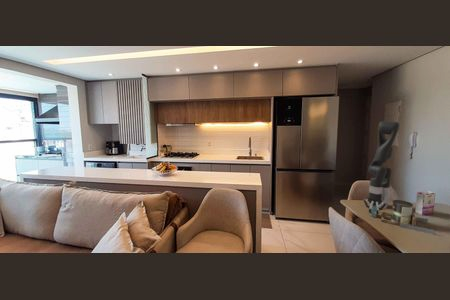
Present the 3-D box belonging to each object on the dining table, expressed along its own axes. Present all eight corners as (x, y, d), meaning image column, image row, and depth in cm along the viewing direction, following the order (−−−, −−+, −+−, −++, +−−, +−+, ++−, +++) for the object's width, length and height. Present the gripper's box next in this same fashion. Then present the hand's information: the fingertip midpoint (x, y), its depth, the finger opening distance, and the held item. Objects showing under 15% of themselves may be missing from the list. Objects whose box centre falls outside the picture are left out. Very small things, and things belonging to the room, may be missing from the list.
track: (399, 226, 127) (400, 223, 127) (396, 216, 141) (396, 212, 141) (434, 234, 117) (435, 231, 117) (427, 222, 132) (427, 218, 132)
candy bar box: (425, 210, 149) (428, 190, 147) (433, 213, 144) (436, 193, 142) (414, 212, 147) (416, 192, 144) (422, 215, 142) (424, 194, 140)
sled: (371, 219, 137) (371, 208, 136) (370, 211, 149) (371, 201, 148) (415, 228, 124) (416, 217, 123) (410, 219, 136) (412, 208, 135)
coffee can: (390, 221, 133) (392, 202, 132) (391, 216, 141) (393, 198, 139) (410, 227, 126) (412, 207, 124) (410, 221, 133) (413, 202, 131)
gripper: (363, 191, 141) (361, 213, 143) (388, 195, 133) (386, 218, 135) (363, 188, 147) (362, 209, 149) (387, 192, 139) (385, 214, 141)
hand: (373, 213), depth 142 cm, fingers closed on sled, 3 cm apart
